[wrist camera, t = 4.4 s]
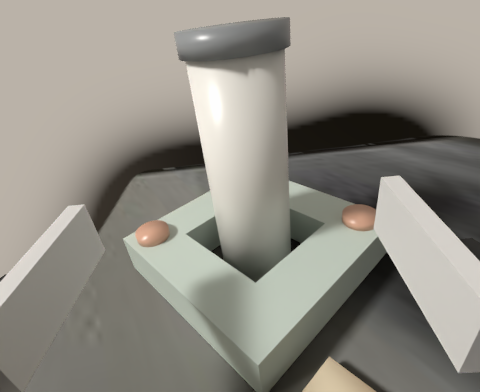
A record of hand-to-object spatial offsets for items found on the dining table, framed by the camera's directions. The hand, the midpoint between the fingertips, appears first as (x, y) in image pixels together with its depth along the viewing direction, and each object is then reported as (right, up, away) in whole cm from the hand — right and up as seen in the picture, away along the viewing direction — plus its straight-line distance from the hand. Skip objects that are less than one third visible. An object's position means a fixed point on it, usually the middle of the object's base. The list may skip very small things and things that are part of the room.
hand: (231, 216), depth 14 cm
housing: (+2, -4, +10) cm, 11 cm away
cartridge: (+2, -4, +10) cm, 11 cm away
